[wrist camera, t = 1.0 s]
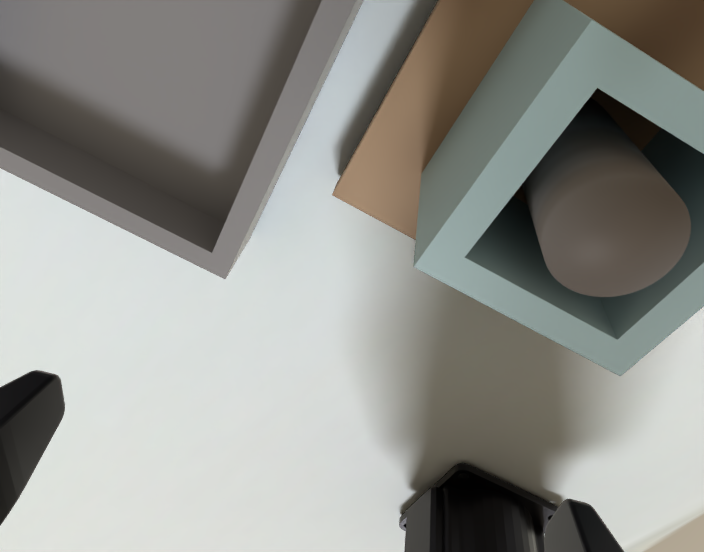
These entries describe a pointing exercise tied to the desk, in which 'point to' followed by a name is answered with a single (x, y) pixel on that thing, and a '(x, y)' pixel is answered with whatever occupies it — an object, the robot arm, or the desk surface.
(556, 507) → the robot arm
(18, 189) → the desk surface
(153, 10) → the tray
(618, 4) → the stake
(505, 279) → the sleeve
